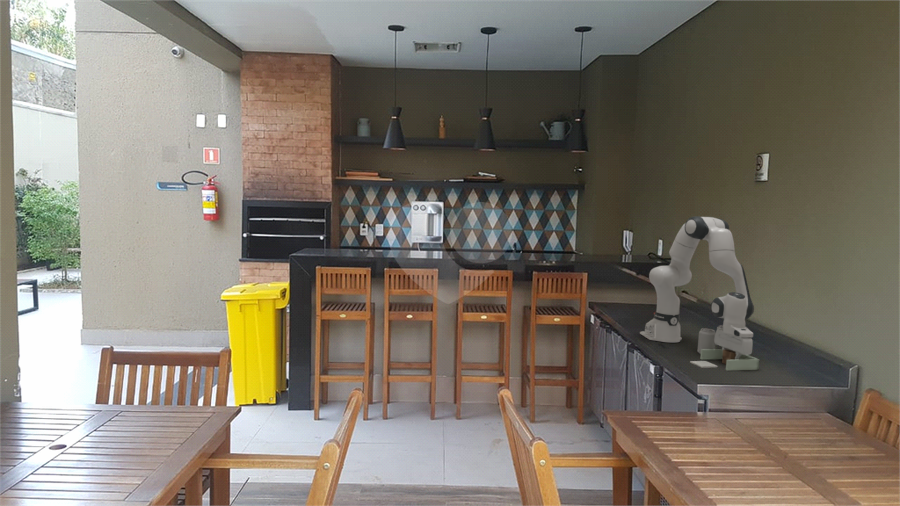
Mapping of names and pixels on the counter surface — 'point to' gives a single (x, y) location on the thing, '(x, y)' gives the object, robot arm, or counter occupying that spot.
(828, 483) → the counter surface
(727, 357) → the block
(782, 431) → the counter surface
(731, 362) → the pale green frame
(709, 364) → the coaster
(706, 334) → the can
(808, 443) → the counter surface
